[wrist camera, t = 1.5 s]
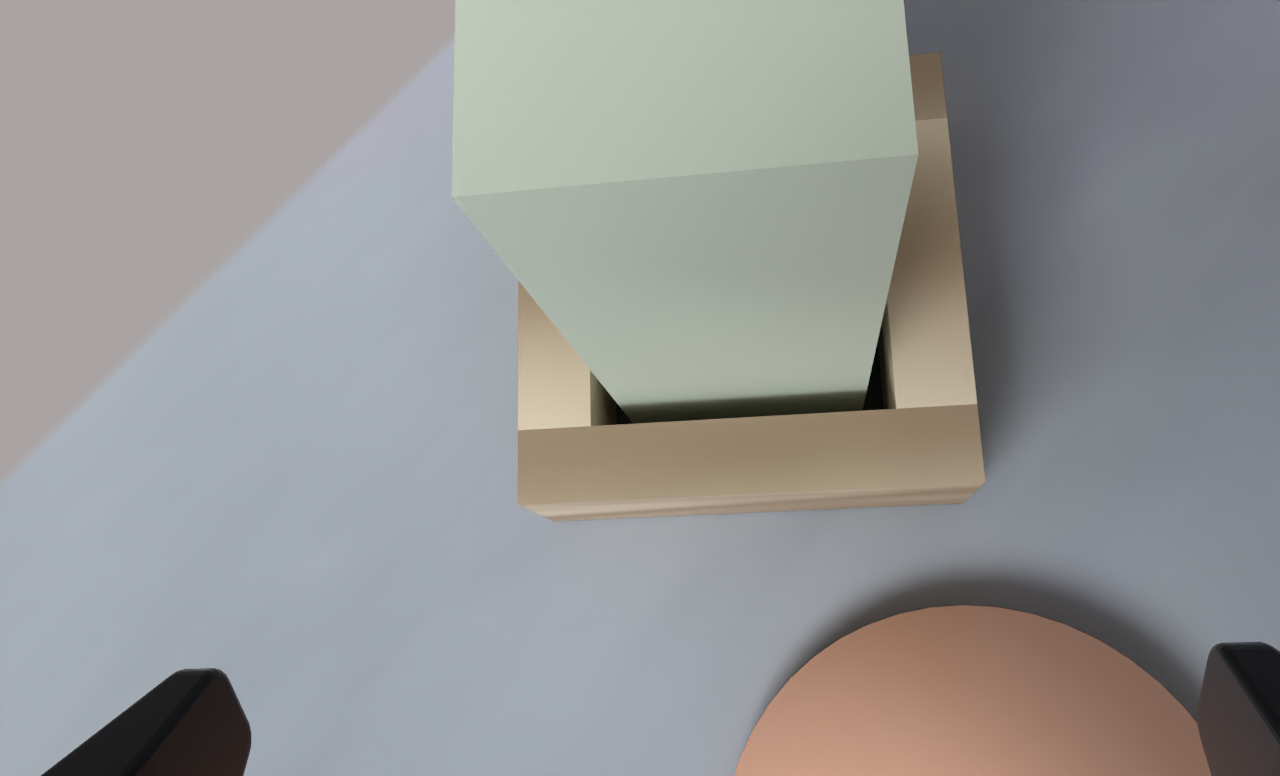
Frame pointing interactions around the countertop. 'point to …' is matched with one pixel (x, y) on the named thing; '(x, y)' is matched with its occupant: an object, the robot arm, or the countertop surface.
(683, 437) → the square socket
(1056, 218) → the countertop surface
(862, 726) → the pad
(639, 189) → the square plug
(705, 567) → the countertop surface
